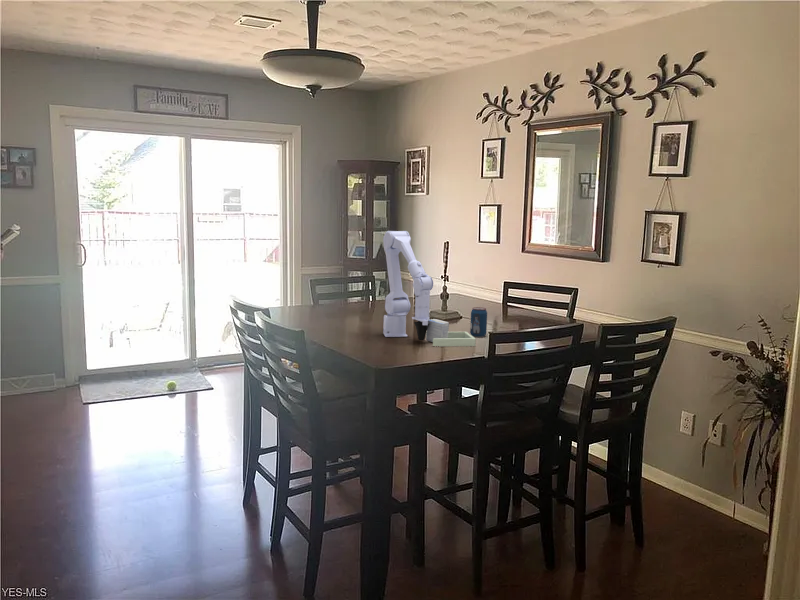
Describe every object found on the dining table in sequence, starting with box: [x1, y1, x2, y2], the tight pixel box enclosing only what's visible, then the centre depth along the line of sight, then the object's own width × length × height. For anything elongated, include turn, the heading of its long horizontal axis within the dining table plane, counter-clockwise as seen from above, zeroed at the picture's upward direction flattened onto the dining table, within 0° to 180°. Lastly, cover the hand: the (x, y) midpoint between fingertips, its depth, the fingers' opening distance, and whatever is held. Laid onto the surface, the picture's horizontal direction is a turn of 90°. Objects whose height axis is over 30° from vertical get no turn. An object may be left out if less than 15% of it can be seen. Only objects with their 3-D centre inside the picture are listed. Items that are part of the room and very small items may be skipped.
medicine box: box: [425, 318, 450, 343], centre depth 257 cm, size 8×4×9 cm, turn 47°
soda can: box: [469, 306, 488, 338], centre depth 272 cm, size 7×7×12 cm
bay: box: [425, 331, 477, 348], centre depth 258 cm, size 17×14×3 cm
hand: (421, 339), depth 256 cm, fingers closed
